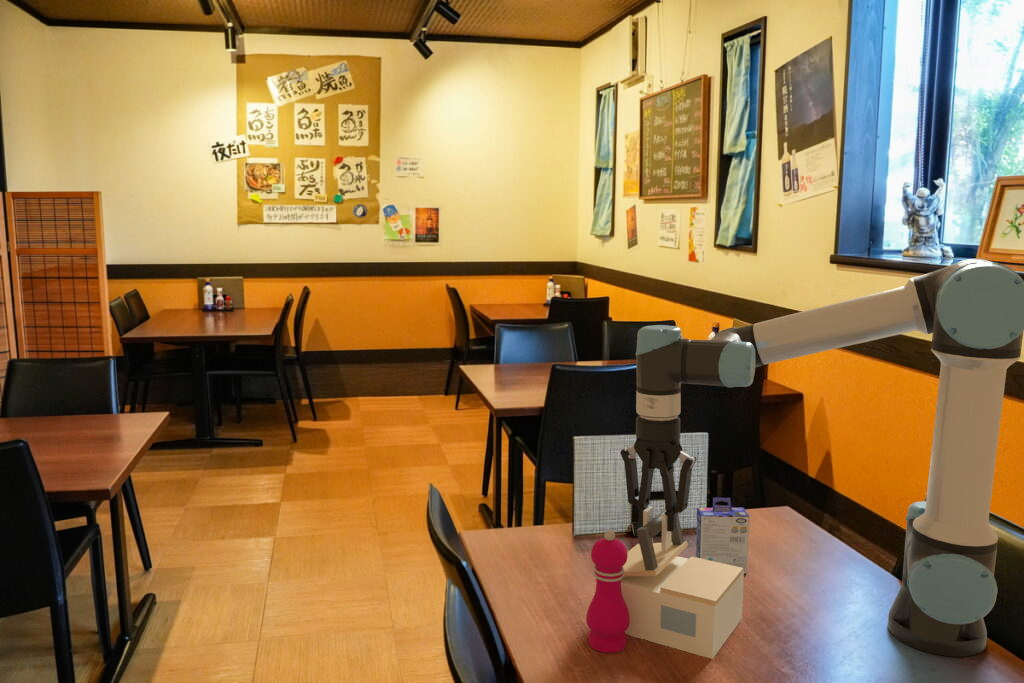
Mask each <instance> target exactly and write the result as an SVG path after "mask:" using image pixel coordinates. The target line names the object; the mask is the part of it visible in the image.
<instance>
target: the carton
mask: <svg viewBox="0 0 1024 683" xmlns="http://www.w3.org/2000/svg"><path fill="white" fill-rule="evenodd" d="M744 577H745V574H744V571H743V568H741V567H737V566H732V565H728V564H723V563H719V562H714V561H710V560H705V559H701V558H696V556H690V557H689V558H686V557H681V556H677V557H675V558H674V559H673V560H672V561H671V562H670V563H669V564H668V565H667V566H666V567H665V568H664V569H663V570H662V571H661V572H660V573H659V574H658V575H657V576H626V577H623V578H622V579H621V591H622V595H623V598H624V601H625V603H626V606H627V608H628V612H629V618H630V624H629V627H628V628H627V630H626V631H625V633H626V636H631V637H634V638H637V639H641V640H644V639H645V640H644V641H647V640H648V642H650V643H655V644H659V645H661V646H664V647H665V646H666V647H668V646H669V648H672V649H675V648H676V650H680V651H683V652H686V653H690V654H692V655H693V654H694V655H696V656H700V657H703V658H708V659H711V660H713V659H714V658H715V657H716V655H717V654H718V653H719V651H720V650H721V648H722V647H723V646H724V644H725V643H726V641H727V640H728V639H729V637H730V636H731V635H732V633H733V632H734V630H735V629H736V628H737V626H738V625H739V623H741V621H742V619H743V604H744V602H743V600H744V583H745V581H744V580H745V578H744Z"/></svg>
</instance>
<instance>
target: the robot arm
mask: <svg viewBox="0 0 1024 683" xmlns="http://www.w3.org/2000/svg"><path fill="white" fill-rule="evenodd" d="M916 331H917V332H920V333H922V334H924V335H931V334H932V338H931V348H930V351H931V352H932V353H933V354H934V356H936V358H937V359H938V360H939V362H940V371H939V376H938V387H937V395H936V396H937V398H936V405H935V406H936V407H935V415H934V416H935V417H934V425H933V434H932V443H931V454H930V461H929V463H930V464H929V471H928V472H929V473H928V481H927V489H926V490H927V491H926V498H925V500H922V501H915V502H913V503H911V504H910V505H909V506H908V510H907V515H906V517H905V520H906V528H905V540H904V556H903V567H902V580H901V586H900V588H899V590H898V592H897V595H896V596H895V598H894V601H893V602H892V605H891V607H890V609H889V611H888V616H887V617H888V618H887V628H888V631H889V632H890V633H891V634H892V636H893V637H895V638H896V639H898V640H899V641H900V642H901V643H904V644H905V645H908V646H910V647H912V648H914V649H916V650H919V651H923V652H926V653H929V654H934V655H939V656H944V657H957V658H959V657H971V656H976V655H978V654H980V653H981V652H983V651H984V650H985V649H986V647H987V639H988V638H987V636H988V631H987V627H986V623H985V621H984V617H986V616H987V615H988V614H989V613H990V612H991V611H992V609H993V608H994V606H995V603H996V601H997V595H998V590H999V589H998V586H997V584H998V582H997V580H996V578H995V568H996V560H997V550H998V542H999V534H998V533H997V532H996V530H995V529H993V527H991V525H990V523H989V520H990V511H991V502H992V494H993V485H994V479H995V478H994V477H995V471H996V460H997V452H998V446H999V437H1000V436H999V435H1000V428H1001V427H1000V426H1001V420H1002V419H1001V418H1002V412H1003V411H1002V410H1003V402H1004V394H1005V386H1006V385H1005V384H1006V377H1007V369H1008V368H1009V367H1010V366H1012V365H1013V364H1015V363H1016V362H1017V361H1019V360H1020V359H1021V354H1022V347H1023V346H1022V345H1023V339H1024V279H1023V278H1022V277H1021V276H1020V275H1019V274H1018V273H1017V272H1016V271H1015V270H1013V269H1011V268H1010V267H1008V266H1006V265H1004V264H1002V263H999V262H996V261H993V260H988V259H984V258H970V259H969V258H968V259H964V260H961V261H958V262H955V263H953V264H950V265H948V266H945V267H943V268H940V269H936V270H934V271H931V272H928V273H925V274H922V275H917V276H913V277H910V278H909V280H908V281H907V282H906V284H905V285H903V286H899V287H896V288H892V289H887V290H883V291H879V292H875V293H872V294H868V295H863V296H859V297H855V298H852V299H847V300H844V301H840V302H836V303H832V304H827V305H823V306H819V307H816V308H811V309H807V310H803V311H799V312H795V313H792V314H788V315H787V314H786V315H784V316H779V317H775V318H772V319H768V320H763V321H759V322H757V323H754V324H748V325H744V326H740V327H729V328H725V329H722V330H720V331H719V332H718V333H716V334H715V335H714V336H713V338H711V339H688V338H683V335H682V329H681V328H680V327H679V326H677V325H668V324H667V325H666V324H655V325H654V324H653V325H646V326H642V327H640V328H639V329H638V331H637V334H636V335H637V339H636V352H635V357H636V358H635V359H636V360H635V362H636V363H635V364H636V368H635V369H636V391H635V392H636V394H635V396H636V398H635V402H636V403H635V409H636V410H635V411H636V414H637V417H636V419H635V436H636V439H635V441H634V443H633V445H631V446H627V447H626V446H625V447H624V448H623V449H621V450H620V456H621V458H622V460H623V463H624V471H625V483H626V484H625V485H626V493H627V502H628V504H629V505H634V506H636V507H637V509H638V510H637V511H638V520H637V521H638V525H639V527H643V526H645V525H646V524H647V523H648V522H650V521H651V520H652V519H653V518H654V506H650V504H651V503H652V502H651V500H650V499H651V493H652V486H653V479H654V473H655V472H654V471H655V469H657V470H659V474H660V477H661V482H662V489H663V498H664V506H665V507H666V511H665V512H664V513H663V514H662V530H661V543H662V550H664V551H666V550H667V549H668V548H669V547H670V546H671V542H672V539H671V532H673V531H674V530H675V529H676V526H677V524H676V523H677V522H676V521H677V513H678V514H679V513H683V512H684V511H685V510H686V509H687V508H688V506H689V505H688V504H689V497H690V488H691V481H692V470H693V468H694V465H695V464H696V462H697V456H696V455H693V454H692V455H690V454H688V453H687V452H684V451H683V447H682V445H681V418H680V416H679V415H680V414H681V412H682V411H681V406H682V405H681V397H682V396H681V394H682V393H681V390H682V389H681V388H682V387H681V386H682V384H687V385H688V384H689V385H690V384H691V385H701V386H702V385H704V386H714V387H715V386H716V387H726V388H732V389H733V388H738V387H739V388H740V387H741V388H742V387H743V388H747V387H750V386H751V385H752V384H753V382H754V377H755V372H756V368H758V367H762V366H765V365H769V364H773V363H777V362H781V361H787V360H792V359H795V358H800V357H803V356H808V355H813V354H817V353H822V352H826V351H830V350H831V351H832V350H835V349H840V348H844V347H849V346H853V345H858V344H862V343H868V342H872V341H876V340H880V339H885V338H889V337H893V336H894V337H895V336H898V335H902V334H907V333H910V332H916ZM637 456H638V457H639V459H640V460H641V462H642V464H641V478H640V485H639V475H638V464H637V459H636V457H637ZM678 459H679V465H680V466H681V468H680V471H679V479H678V480H679V481H678V488H677V489H678V490H676V485H675V484H676V483H675V476H674V472H675V467H674V466H675V465H674V464H675V463H676V461H678ZM676 491H677V492H676ZM665 507H664V508H665ZM652 543H654V537H653V538H652Z"/></svg>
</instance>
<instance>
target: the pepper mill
mask: <svg viewBox="0 0 1024 683" xmlns="http://www.w3.org/2000/svg"><path fill="white" fill-rule="evenodd" d="M603 536H604V537H602V538H600V539H599V540H597V541H596V542H595V543H593V545H592V548H591V551H590V559H591V560H592V562H593V564H594V566H593V571H594V572H593V576H594V577H595V582H596V583H595V584H596V586H595V592H594V595H593V598H592V600H591V602H590V603H589V606H588V609H587V611H586V617H585V618H586V619H585V620H586V625H587V627H588V628H589V629H590V631H589V633H588V644H589V646H590V647H591V648H592V649H593V650H595V651H598V652H600V653H604V654H605V653H606V654H615V653H619V652H622V651H623V650H624V649H625V648H626V646H627V635H626V633H625V631H626V630H627V628H628V627H629V624H630V618H629V612H628V608H627V606H626V603H625V601H624V598H623V595H622V591H621V579H622V578H623V577H624V568H623V565H624V564H625V563H626V561H627V557H628V554H627V552H628V549H627V546H626V545H625V544H624V542H622V541H621V540H620V539H617V538H616V534H615V532H614V531H613V530H611V529H607V530H606V531H605V532H604V534H603Z"/></svg>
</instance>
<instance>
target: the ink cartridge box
mask: <svg viewBox="0 0 1024 683" xmlns="http://www.w3.org/2000/svg"><path fill="white" fill-rule="evenodd" d="M719 502H724V503H727V505H723V504H720V505H719V504H716V503H719ZM749 529H750V515H749V513H748V512H747V511H746V509H745V508H744V507H732V502H731V497H712V507H697V508H696V541H695V542H696V543H695V545H696V546H695V548H696V549H695V557H696V558H701V559H705V560H710V561H714V562H719V563H723V564H728V565H732V566H737V567H741V568H743V571H744V575H746V574H747V573H748V557H749V556H748V555H749V533H750V531H749Z"/></svg>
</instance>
